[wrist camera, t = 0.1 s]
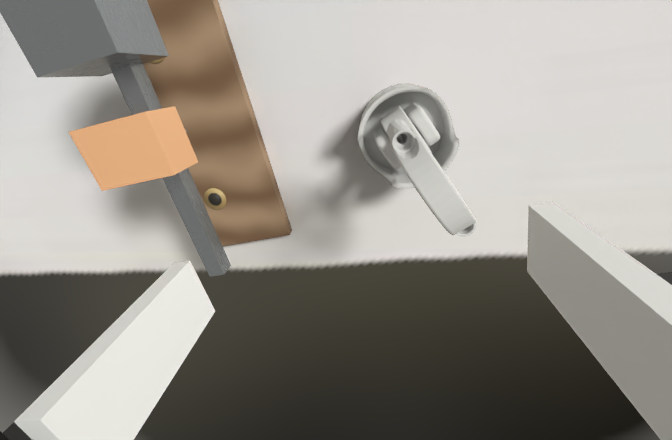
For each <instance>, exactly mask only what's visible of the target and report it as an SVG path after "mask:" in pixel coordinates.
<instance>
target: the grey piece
mask: <svg viewBox="0 0 672 440" xmlns="http://www.w3.org/2000/svg"><path fill="white" fill-rule="evenodd" d="M0 13H1V14H2V16H3V18H4V20H5V21H6V23H7V25H8V27H9V28H10V30H11V32H12V34H13V35H14V37H15V39H16V41H17V42H18V44H19V46H20V48H21V49H22V51H23V53H24V55H25V56H26V58H27V60H28V62H29V63H30V65H31V67H32V69H33V70H34V72H35V74H36V76H37V77H81V76H104V75H108V74H111V73H113V75H114V77H115V79H116V81H117V83H118V85H119V87H120V89H121V92H122V94H123V96H124V98H125V100H126V102H127V104H128V106H129V108H130V110H131V112H132V115H134V114H138V113H142V112H146V111H152V110H157V109H162V107H161V104H160V102H159V100H158V97H157V95H156V93H155V90H154V88H153V86H152V84H151V81H150V79H149V77H148V74H147V72H146V70H145V67H144V65H143V64H145V63H148V62H151V61H155V60H158V59H161V58H165V57H168V56H169V54H168V52H167V49H166V47H165V44H164V42H163V39H162V37H161V34H160V32H159V29H158V27H157V24H156V22H155V19H154V17H153V14H152V12H151V9H150V7H149V4H148V2H147V0H0ZM163 180H164V182H165V184H166V186H167V188H168V190H169V192H170V194H171V196H172V199H173V201H174V203H175V205H176V207H177V209H178V211H179V213H180V215H181V217H182V220H183V222H184V224H185V226H186V228H187V230H188V232H189V234H190V236H191V238H192V241H193V243H194V245H195V247H196V249H197V251H198V253H199V255H200V257H201V259H202V262H203V264H204V266H205V268H206V270H207V272H208V274H209V276H217V275H223V274H225V273H226V271H227V270H228V268H229V267H230V266H231V265H230V263H229V260H228V258H227V256H226V253H225V251H224V249H223V247H222V244H221V242H220V240H219V237H218V235H217V233H216V231H215V228H214V226H213V224H212V221H211V219H210V217H209V214H208V212H207V210H206V208H205V205H204V203H203V201H202V198H201V196H200V194H199V191H198V189H197V187H196V185H195V182H194V180H193V178H192V175H191V173H190V171H189V169H188V168H187V169H185V170H183V171H181V172H179V173H177V174H175V175H172V176H168V177H163Z"/></svg>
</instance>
